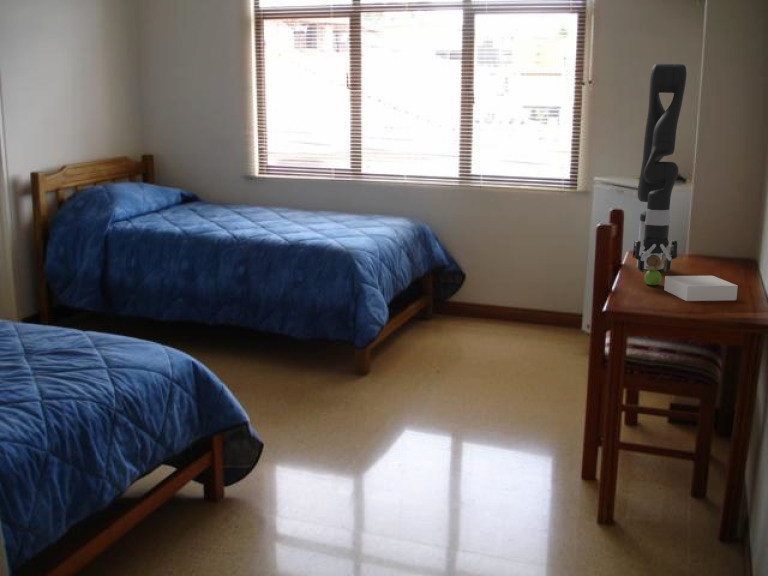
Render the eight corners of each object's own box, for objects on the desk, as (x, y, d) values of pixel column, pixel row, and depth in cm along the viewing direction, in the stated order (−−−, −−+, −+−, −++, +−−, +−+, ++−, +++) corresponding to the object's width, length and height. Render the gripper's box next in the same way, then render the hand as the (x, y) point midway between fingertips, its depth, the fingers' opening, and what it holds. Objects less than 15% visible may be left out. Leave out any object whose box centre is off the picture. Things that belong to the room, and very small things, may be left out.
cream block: (664, 291, 265) (665, 276, 264) (711, 290, 267) (712, 275, 266) (686, 302, 250) (687, 286, 249) (736, 301, 251) (737, 285, 250)
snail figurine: (665, 287, 269) (667, 251, 266) (644, 286, 270) (647, 251, 267) (662, 284, 274) (665, 249, 271) (643, 283, 275) (645, 248, 272)
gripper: (673, 221, 272) (669, 269, 275) (631, 221, 270) (628, 269, 274) (683, 224, 264) (679, 273, 268) (640, 224, 263) (637, 273, 266)
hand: (653, 271), depth 271 cm, fingers open, 8 cm apart
